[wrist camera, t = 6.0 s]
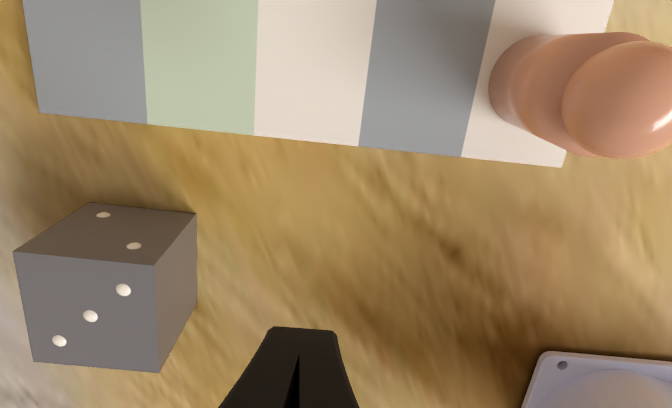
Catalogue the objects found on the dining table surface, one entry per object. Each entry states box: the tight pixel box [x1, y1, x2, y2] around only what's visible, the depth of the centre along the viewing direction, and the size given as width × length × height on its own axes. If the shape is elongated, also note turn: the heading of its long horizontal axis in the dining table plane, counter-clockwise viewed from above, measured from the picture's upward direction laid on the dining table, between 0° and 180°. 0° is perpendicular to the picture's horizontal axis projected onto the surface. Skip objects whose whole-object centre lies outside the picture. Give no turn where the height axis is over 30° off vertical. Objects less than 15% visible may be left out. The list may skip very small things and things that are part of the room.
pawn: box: [488, 32, 672, 159], centre depth 12 cm, size 3×3×7 cm
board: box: [22, 0, 614, 168], centre depth 15 cm, size 20×6×1 cm, turn 84°
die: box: [13, 202, 197, 373], centre depth 16 cm, size 5×5×5 cm
